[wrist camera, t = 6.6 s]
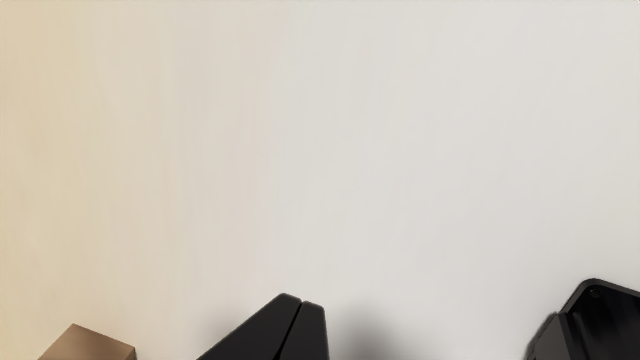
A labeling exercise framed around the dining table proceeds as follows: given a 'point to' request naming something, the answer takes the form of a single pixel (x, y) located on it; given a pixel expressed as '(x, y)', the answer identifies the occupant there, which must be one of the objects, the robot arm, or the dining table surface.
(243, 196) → the dining table surface
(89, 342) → the walnut block two
